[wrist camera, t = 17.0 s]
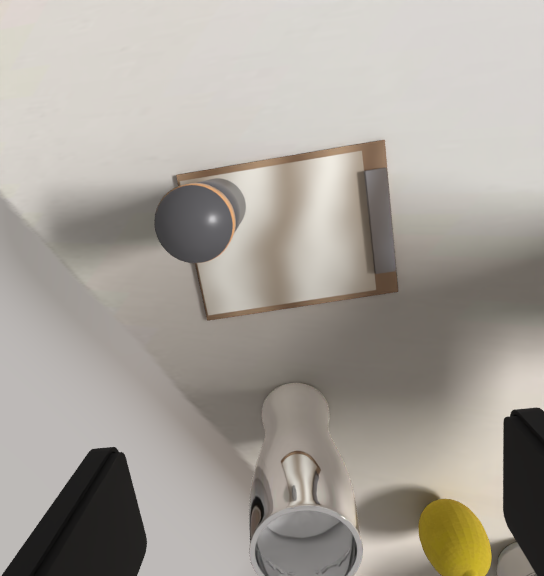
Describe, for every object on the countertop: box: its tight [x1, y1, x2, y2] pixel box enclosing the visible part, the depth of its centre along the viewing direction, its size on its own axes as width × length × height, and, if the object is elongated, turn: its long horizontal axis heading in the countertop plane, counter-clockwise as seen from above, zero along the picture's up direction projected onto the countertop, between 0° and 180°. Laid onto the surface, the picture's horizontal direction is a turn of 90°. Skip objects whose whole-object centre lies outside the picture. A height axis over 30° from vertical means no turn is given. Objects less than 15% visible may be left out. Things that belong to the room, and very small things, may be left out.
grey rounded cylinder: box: [155, 178, 246, 263], centre depth 28 cm, size 4×4×12 cm
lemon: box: [419, 499, 492, 576], centre depth 39 cm, size 6×6×8 cm
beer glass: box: [249, 383, 363, 576], centre depth 33 cm, size 7×7×15 cm
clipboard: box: [176, 140, 398, 321], centre depth 35 cm, size 16×12×1 cm
